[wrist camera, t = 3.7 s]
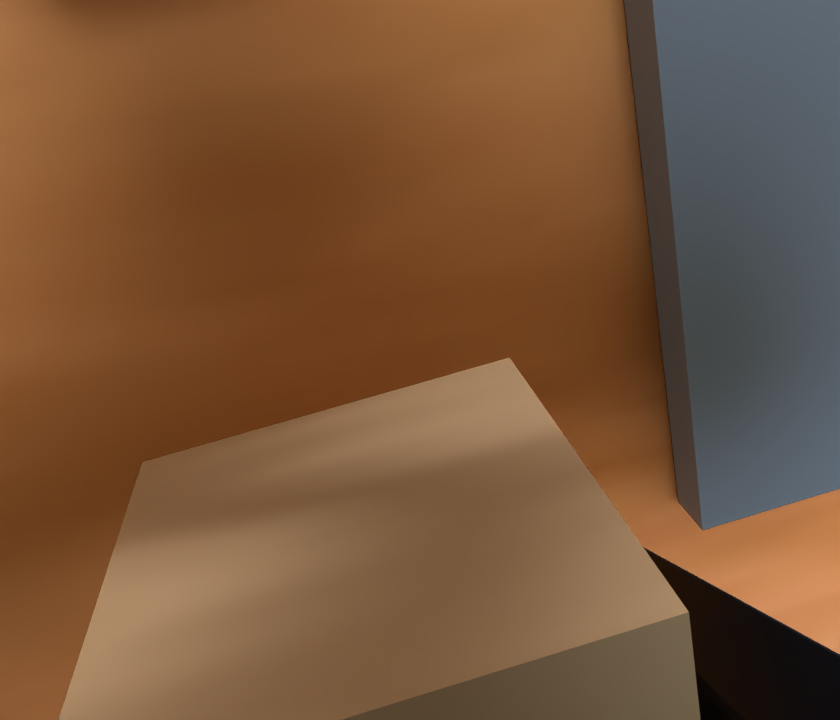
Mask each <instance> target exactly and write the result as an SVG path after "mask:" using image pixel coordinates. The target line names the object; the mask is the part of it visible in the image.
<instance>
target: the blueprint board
mask: <svg viewBox="0 0 840 720" xmlns="http://www.w3.org/2000/svg"><path fill="white" fill-rule="evenodd" d="M624 6H625V15H626V24H627V33H628V42H629V52H630V61H631V70H632V79H633V88H634V98H635V107H636V116H637V125H638V134H639V144H640V153H641V162H642V171H643V180H644V190H645V199H646V208H647V217H648V226H649V236H650V245H651V254H652V263H653V272H654V282H655V291H656V300H657V309H658V318H659V328H660V337H661V346H662V355H663V364H664V374H665V383H666V392H667V401H668V410H669V420H670V429H671V438H672V447H673V456H674V466H675V475H676V484H677V493H678V502H679V503H680V504H681V506H682V507H683V508H684V509H685V510H686V511H687V513H688V514H689V515H690V516H691V517H692V519H693V520H694V521H695V522H696V523H697V524H698V526H699V527H700V528H701V529H702V530H705V529H709V528H712V527H715V526H718V525H722V524H725V523H728V522H732V521H735V520H738V519H742V518H745V517H748V516H751V515H755V514H758V513H761V512H765V511H768V510H771V509H774V508H778V507H781V506H784V505H788V504H791V503H794V502H797V501H801V500H804V499H807V498H811V497H814V496H817V495H820V494H824V493H827V492H830V491H834V490H837V489H840V0H624Z"/></svg>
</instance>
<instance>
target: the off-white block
mask: <svg viewBox="0 0 840 720" xmlns="http://www.w3.org/2000/svg"><path fill="white" fill-rule="evenodd" d="M58 720H701V719H700V710H699V701H698V692H697V682H696V673H695V664H694V655H693V645H692V636H691V627H690V618H689V612H688V610H687V609H686V607H685V606H684V604H683V603H682V602H681V600H680V599H679V597H678V596H677V595H676V593H675V592H674V590H673V589H672V587H671V586H670V585H669V583H668V582H667V580H666V579H665V578H664V576H663V575H662V573H661V572H660V570H659V569H658V568H657V566H656V565H655V563H654V562H653V560H652V559H651V558H650V556H649V555H648V553H647V552H646V551H645V549H644V548H643V546H642V545H641V543H640V542H639V541H638V539H637V538H636V536H635V535H634V534H633V532H632V531H631V529H630V528H629V526H628V525H627V524H626V522H625V521H624V519H623V518H622V516H621V515H620V514H619V512H618V511H617V509H616V508H615V507H614V505H613V504H612V502H611V501H610V499H609V498H608V497H607V495H606V494H605V492H604V491H603V489H602V488H601V487H600V485H599V484H598V482H597V481H596V480H595V478H594V477H593V475H592V474H591V472H590V471H589V470H588V468H587V467H586V465H585V464H584V463H583V461H582V460H581V458H580V457H579V455H578V454H577V453H576V451H575V450H574V448H573V447H572V445H571V444H570V443H569V441H568V440H567V438H566V437H565V436H564V434H563V433H562V431H561V430H560V428H559V427H558V426H557V424H556V423H555V421H554V420H553V419H552V417H551V416H550V414H549V413H548V411H547V410H546V409H545V407H544V406H543V404H542V403H541V401H540V400H539V399H538V397H537V396H536V394H535V393H534V392H533V390H532V389H531V387H530V386H529V384H528V383H527V382H526V380H525V379H524V377H523V376H522V375H521V373H520V372H519V370H518V369H517V367H516V366H515V365H514V363H513V362H512V360H511V359H510V357H509V358H506V359H502V360H499V361H495V362H491V363H488V364H484V365H481V366H477V367H474V368H470V369H467V370H463V371H460V372H456V373H453V374H449V375H446V376H442V377H439V378H435V379H432V380H428V381H425V382H421V383H418V384H414V385H411V386H407V387H404V388H400V389H397V390H393V391H390V392H386V393H383V394H379V395H376V396H372V397H369V398H365V399H362V400H358V401H355V402H351V403H348V404H344V405H340V406H337V407H333V408H330V409H326V410H323V411H319V412H316V413H312V414H309V415H305V416H302V417H298V418H295V419H291V420H288V421H284V422H281V423H277V424H274V425H270V426H267V427H263V428H260V429H256V430H253V431H249V432H246V433H242V434H239V435H235V436H232V437H228V438H225V439H221V440H218V441H214V442H211V443H207V444H204V445H200V446H197V447H193V448H189V449H186V450H182V451H179V452H175V453H172V454H168V455H165V456H161V457H158V458H154V459H151V460H147V461H144V462H142V464H141V467H140V470H139V473H138V476H137V479H136V482H135V485H134V489H133V492H132V495H131V498H130V501H129V504H128V507H127V510H126V513H125V516H124V519H123V522H122V526H121V529H120V532H119V535H118V538H117V541H116V544H115V547H114V550H113V553H112V556H111V559H110V562H109V566H108V569H107V572H106V575H105V578H104V581H103V584H102V587H101V590H100V593H99V596H98V599H97V602H96V606H95V609H94V612H93V615H92V618H91V621H90V624H89V627H88V630H87V633H86V636H85V639H84V642H83V646H82V649H81V652H80V655H79V658H78V661H77V664H76V667H75V670H74V673H73V676H72V679H71V682H70V686H69V689H68V692H67V695H66V698H65V701H64V704H63V707H62V710H61V713H60V716H59V719H58Z"/></svg>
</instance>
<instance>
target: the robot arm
mask: <svg viewBox="0 0 840 720" xmlns="http://www.w3.org/2000/svg"><path fill="white" fill-rule="evenodd" d="M643 548H644V547H643ZM644 549H645V551H646V552H647V553H648V555H649V556H650V558H651V559H652V560H653V562H654V563H655V565H656V566H657V568H658V569H659V570H660V572H661V573H662V575H663V576H664V578H665V579H666V580H667V582H668V583H669V585H670V586H671V587H672V589H673V590H674V592H675V593H676V595H677V596H678V597H679V599H680V600H681V602H682V603H683V604H684V606H685V607H686V609H687V610H688V612H689V618H690V627H691V636H692V645H693V655H694V664H695V673H696V682H697V692H698V701H699V710H700V719H701V720H840V654H838V653H836V652H834V651H832V650H830V649H829V648H827V647H825V646H823V645H821V644H819V643H818V642H816V641H814V640H812V639H810V638H808V637H807V636H805V635H803V634H801V633H799V632H797V631H796V630H794V629H792V628H790V627H788V626H786V625H785V624H783V623H781V622H779V621H777V620H776V619H774V618H772V617H770V616H768V615H766V614H765V613H763V612H761V611H759V610H757V609H755V608H754V607H752V606H750V605H748V604H746V603H744V602H743V601H741V600H739V599H737V598H735V597H733V596H732V595H730V594H728V593H726V592H724V591H722V590H721V589H719V588H717V587H715V586H713V585H711V584H710V583H708V582H706V581H704V580H702V579H700V578H699V577H697V576H695V575H693V574H691V573H689V572H688V571H686V570H684V569H682V568H680V567H678V566H677V565H675V564H673V563H671V562H669V561H667V560H666V559H664V558H662V557H660V556H658V555H656V554H655V553H653V552H651V551H649V550H647V549H646V548H644Z"/></svg>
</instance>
